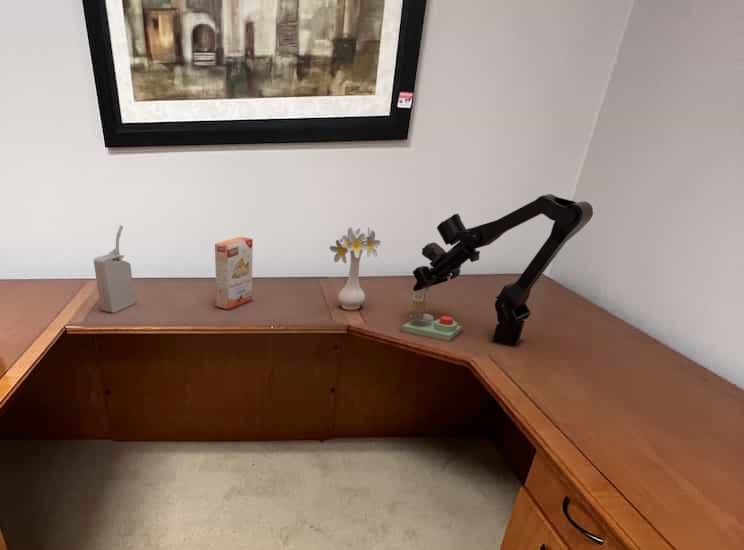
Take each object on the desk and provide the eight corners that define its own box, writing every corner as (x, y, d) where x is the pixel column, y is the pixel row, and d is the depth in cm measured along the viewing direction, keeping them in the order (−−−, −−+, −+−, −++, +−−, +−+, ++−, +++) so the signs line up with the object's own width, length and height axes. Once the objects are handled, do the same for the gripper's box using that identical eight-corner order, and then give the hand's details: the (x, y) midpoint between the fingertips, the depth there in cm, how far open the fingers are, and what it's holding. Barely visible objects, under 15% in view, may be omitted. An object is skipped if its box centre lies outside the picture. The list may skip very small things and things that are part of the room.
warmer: (460, 331, 172) (463, 320, 170) (449, 341, 166) (451, 329, 164) (414, 322, 180) (416, 311, 178) (401, 331, 173) (403, 319, 171)
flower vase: (320, 311, 190) (326, 231, 175) (346, 298, 201) (354, 222, 187) (354, 318, 183) (363, 236, 168) (379, 304, 195) (389, 226, 180)
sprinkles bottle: (428, 310, 183) (435, 267, 175) (418, 313, 181) (425, 269, 173) (417, 307, 186) (424, 264, 178) (408, 309, 184) (414, 266, 176)
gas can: (129, 299, 204) (119, 224, 189) (139, 301, 202) (130, 225, 187) (101, 311, 193) (88, 232, 178) (112, 313, 191) (100, 234, 176)
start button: (453, 323, 169) (454, 317, 168) (449, 326, 167) (450, 320, 166) (442, 321, 171) (443, 315, 170) (437, 324, 169) (438, 318, 168)
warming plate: (437, 316, 173) (437, 315, 173) (428, 323, 169) (428, 322, 168) (415, 312, 177) (415, 311, 177) (405, 318, 172) (406, 317, 172)
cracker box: (229, 310, 192) (227, 245, 179) (215, 307, 195) (213, 243, 182) (253, 300, 201) (253, 237, 188) (240, 297, 204) (239, 235, 191)
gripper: (459, 230, 172) (423, 262, 186) (423, 239, 163) (388, 272, 176) (476, 261, 172) (439, 291, 185) (441, 272, 162) (405, 302, 176)
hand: (418, 288), depth 181 cm, fingers closed on sprinkles bottle, 4 cm apart
